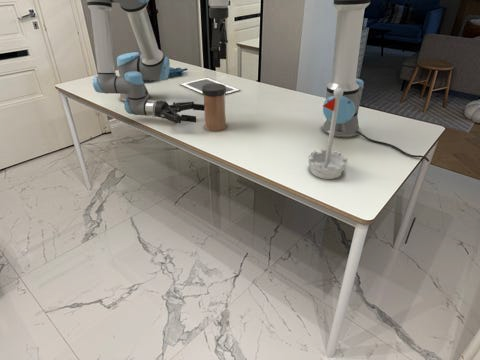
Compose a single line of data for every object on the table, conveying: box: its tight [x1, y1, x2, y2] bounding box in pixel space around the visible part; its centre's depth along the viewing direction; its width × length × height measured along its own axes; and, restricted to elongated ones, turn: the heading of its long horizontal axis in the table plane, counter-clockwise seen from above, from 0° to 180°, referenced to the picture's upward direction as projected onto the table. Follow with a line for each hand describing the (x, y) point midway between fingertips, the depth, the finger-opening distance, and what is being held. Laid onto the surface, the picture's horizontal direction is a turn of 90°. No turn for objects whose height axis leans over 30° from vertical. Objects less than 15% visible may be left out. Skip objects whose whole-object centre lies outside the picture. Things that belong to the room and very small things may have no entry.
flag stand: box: [307, 88, 348, 180], centre depth 113 cm, size 13×13×30 cm
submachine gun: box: [143, 66, 188, 83], centre depth 221 cm, size 34×4×25 cm
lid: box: [202, 83, 226, 96], centre depth 144 cm, size 10×10×2 cm
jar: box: [203, 94, 227, 132], centre depth 149 cm, size 9×9×18 cm
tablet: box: [179, 77, 241, 96], centre depth 200 cm, size 32×20×1 cm, turn 41°
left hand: (201, 113), depth 150 cm, fingers open, 13 cm apart
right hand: (220, 63), depth 143 cm, fingers open, 13 cm apart
